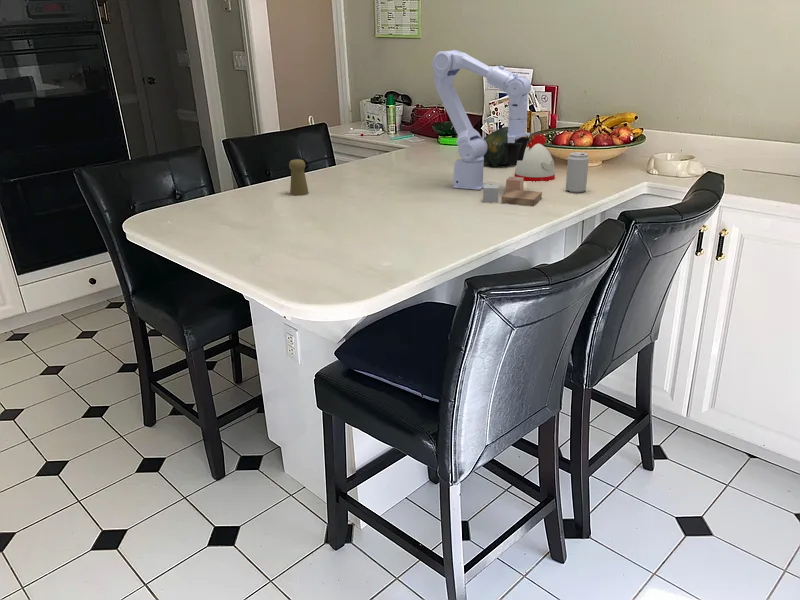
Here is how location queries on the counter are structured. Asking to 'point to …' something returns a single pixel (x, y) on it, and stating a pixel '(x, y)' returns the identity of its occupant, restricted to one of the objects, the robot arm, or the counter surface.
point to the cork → (298, 178)
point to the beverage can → (577, 172)
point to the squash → (496, 148)
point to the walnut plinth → (521, 197)
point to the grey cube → (490, 193)
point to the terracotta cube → (514, 183)
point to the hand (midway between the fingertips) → (516, 162)
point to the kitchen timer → (536, 162)
